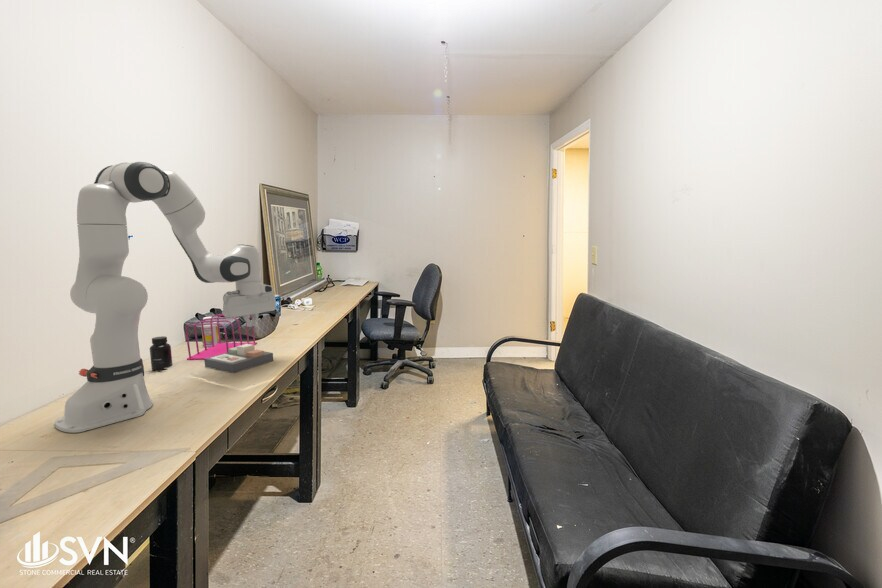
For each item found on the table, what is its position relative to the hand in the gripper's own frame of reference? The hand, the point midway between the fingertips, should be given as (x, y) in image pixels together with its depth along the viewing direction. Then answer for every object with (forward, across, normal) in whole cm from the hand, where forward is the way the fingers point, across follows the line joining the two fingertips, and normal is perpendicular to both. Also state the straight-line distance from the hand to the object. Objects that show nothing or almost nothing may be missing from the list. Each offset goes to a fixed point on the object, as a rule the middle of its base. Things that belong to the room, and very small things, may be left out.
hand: (251, 326), depth 173 cm
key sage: (+14, +1, +11) cm, 18 cm away
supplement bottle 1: (+16, -18, +30) cm, 38 cm away
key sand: (+12, +1, +6) cm, 13 cm away
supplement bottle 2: (+15, +12, +47) cm, 51 cm away
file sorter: (+15, +6, +28) cm, 33 cm away
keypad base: (+15, -2, +6) cm, 16 cm away
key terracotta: (+14, +1, 0) cm, 14 cm away
